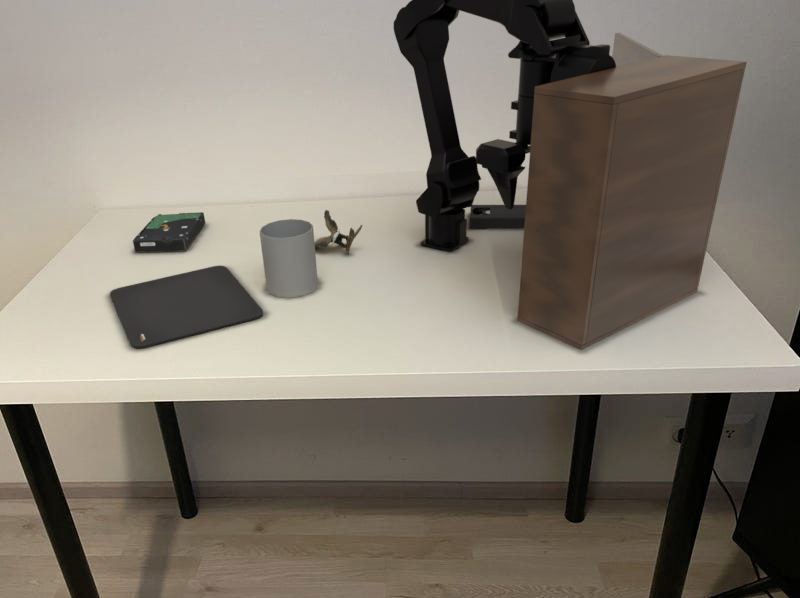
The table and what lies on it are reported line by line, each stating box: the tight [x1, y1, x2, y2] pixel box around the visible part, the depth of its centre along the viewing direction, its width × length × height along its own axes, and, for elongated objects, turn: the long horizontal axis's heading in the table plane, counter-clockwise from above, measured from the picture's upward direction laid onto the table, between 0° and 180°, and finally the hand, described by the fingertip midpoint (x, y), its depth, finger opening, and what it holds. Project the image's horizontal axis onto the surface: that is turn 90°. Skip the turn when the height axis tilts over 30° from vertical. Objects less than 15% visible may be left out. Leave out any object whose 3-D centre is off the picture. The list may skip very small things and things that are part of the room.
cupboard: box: [517, 54, 748, 351], centre depth 94 cm, size 11×26×32 cm, turn 124°
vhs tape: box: [469, 204, 526, 230], centre depth 134 cm, size 14×8×2 cm, turn 78°
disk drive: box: [132, 211, 206, 253], centre depth 140 cm, size 10×3×15 cm
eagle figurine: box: [314, 209, 363, 256], centre depth 127 cm, size 8×7×9 cm
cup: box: [259, 218, 319, 299], centre depth 114 cm, size 8×8×10 cm
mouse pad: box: [109, 265, 264, 349], centre depth 114 cm, size 23×20×1 cm
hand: (530, 201), depth 108 cm, fingers open, 9 cm apart
